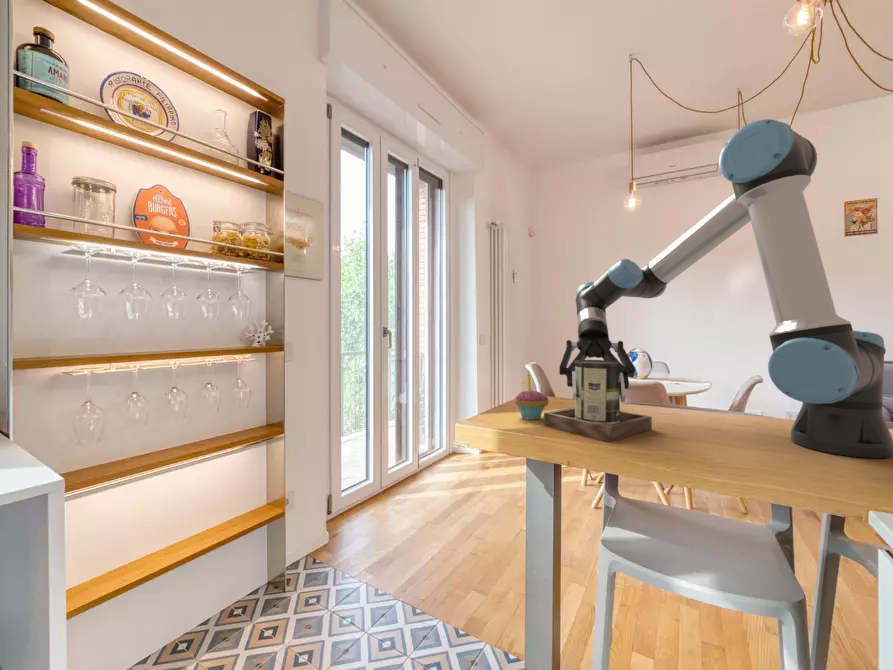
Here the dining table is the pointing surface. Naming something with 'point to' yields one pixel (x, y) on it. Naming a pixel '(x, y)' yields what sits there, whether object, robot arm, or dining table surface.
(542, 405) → the cupcake
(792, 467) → the dining table surface
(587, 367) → the coffee can
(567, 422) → the dark brown wooden tray
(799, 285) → the robot arm
